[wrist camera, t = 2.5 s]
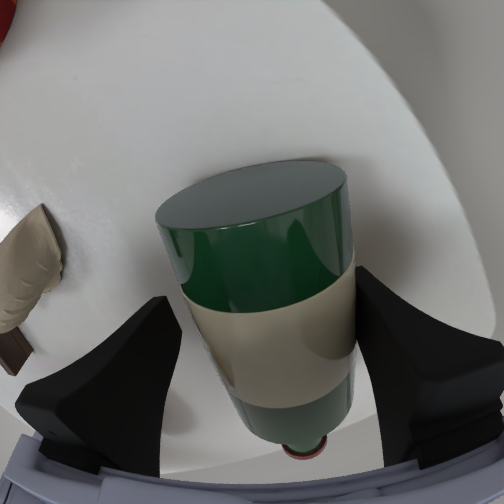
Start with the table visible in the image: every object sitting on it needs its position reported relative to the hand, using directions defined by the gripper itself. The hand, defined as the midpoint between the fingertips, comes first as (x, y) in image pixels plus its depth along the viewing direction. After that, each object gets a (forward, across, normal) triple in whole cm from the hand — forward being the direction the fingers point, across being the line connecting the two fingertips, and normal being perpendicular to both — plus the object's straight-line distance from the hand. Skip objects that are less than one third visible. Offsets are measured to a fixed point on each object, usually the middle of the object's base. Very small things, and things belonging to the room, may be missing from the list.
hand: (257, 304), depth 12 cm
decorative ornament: (+2, +13, -3) cm, 14 cm away
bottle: (-1, -1, +2) cm, 2 cm away
